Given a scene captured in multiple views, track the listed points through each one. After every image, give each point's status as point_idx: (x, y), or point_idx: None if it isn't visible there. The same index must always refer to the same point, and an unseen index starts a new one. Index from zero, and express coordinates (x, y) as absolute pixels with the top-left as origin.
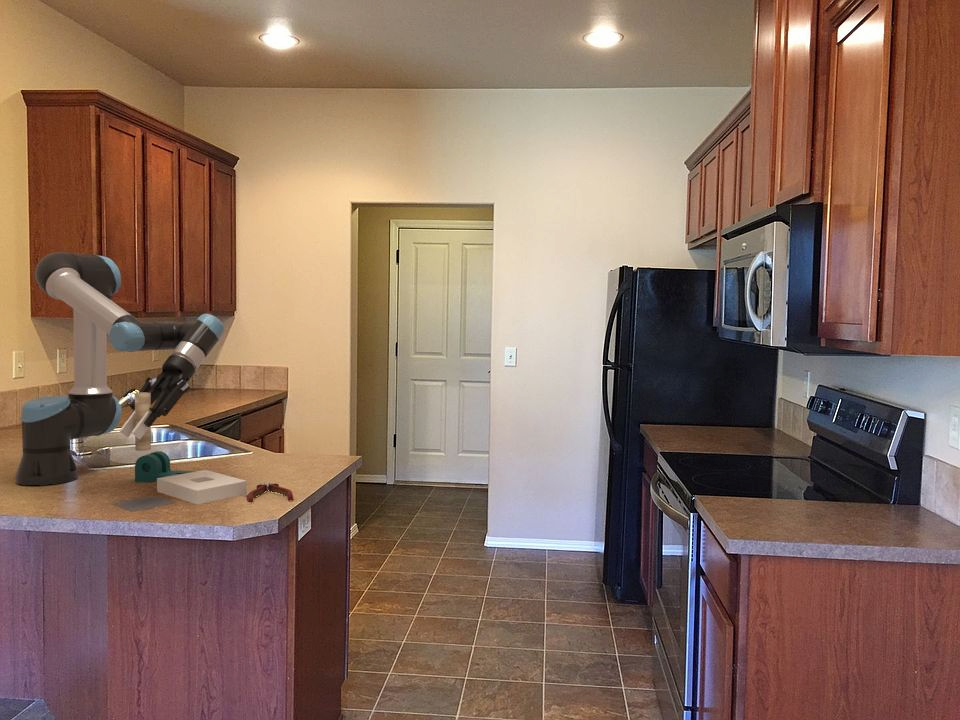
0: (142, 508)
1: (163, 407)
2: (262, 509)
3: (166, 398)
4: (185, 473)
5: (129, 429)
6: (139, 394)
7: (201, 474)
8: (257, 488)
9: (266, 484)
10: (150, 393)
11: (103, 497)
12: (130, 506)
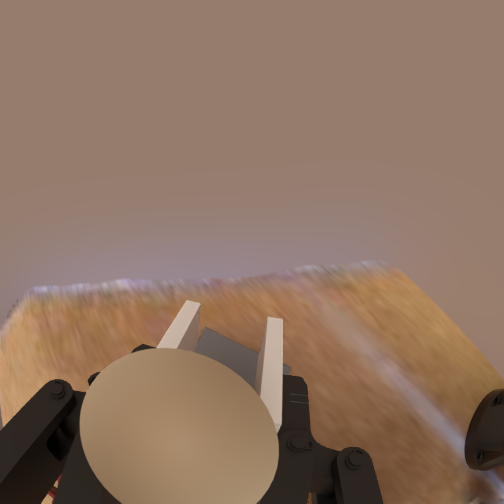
0: (200, 352)
1: (38, 396)
2: (22, 384)
3: (13, 454)
4: None
5: (259, 361)
6: (150, 350)
7: None
8: (60, 477)
9: None
10: (94, 469)
11: (351, 410)
12: (235, 360)
